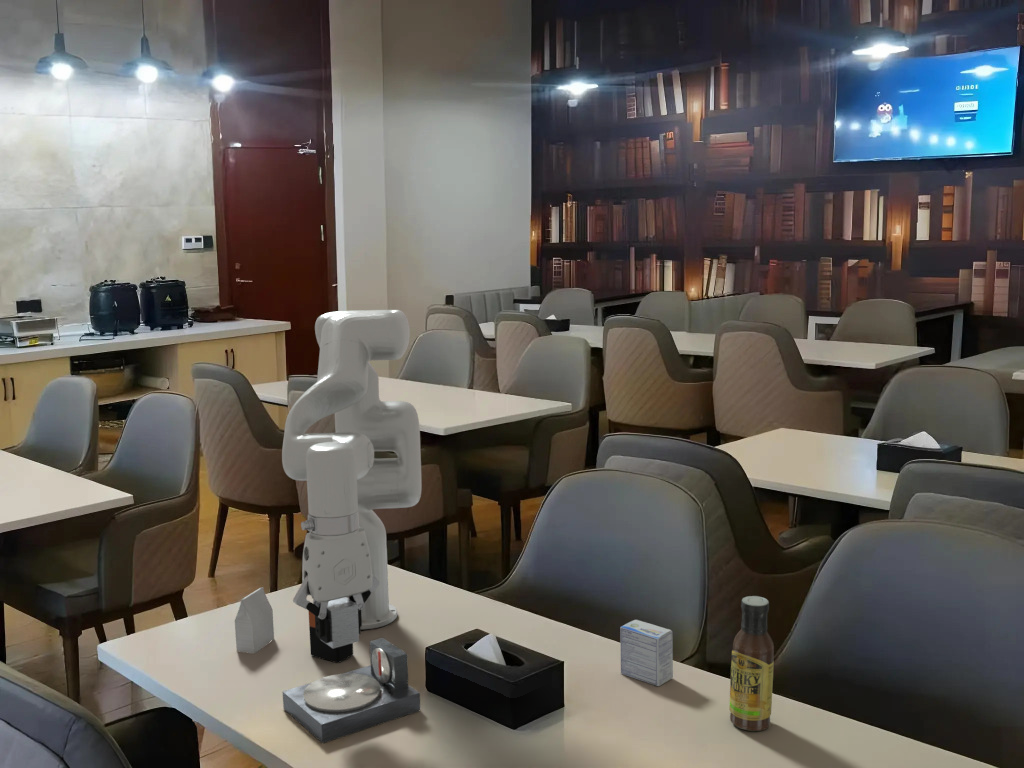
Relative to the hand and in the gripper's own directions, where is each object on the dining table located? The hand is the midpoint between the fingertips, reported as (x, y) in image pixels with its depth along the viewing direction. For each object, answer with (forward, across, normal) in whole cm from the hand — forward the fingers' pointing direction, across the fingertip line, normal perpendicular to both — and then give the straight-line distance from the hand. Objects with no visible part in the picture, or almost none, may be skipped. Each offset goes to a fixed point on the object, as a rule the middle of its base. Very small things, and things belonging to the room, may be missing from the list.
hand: (339, 635), depth 166 cm
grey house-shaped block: (+13, 0, +34) cm, 37 cm away
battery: (+13, +9, +21) cm, 26 cm away
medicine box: (+13, +47, -20) cm, 52 cm away
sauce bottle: (+13, +48, -42) cm, 65 cm away
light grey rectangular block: (+1, 0, 0) cm, 1 cm away
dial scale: (+13, +2, 0) cm, 13 cm away
